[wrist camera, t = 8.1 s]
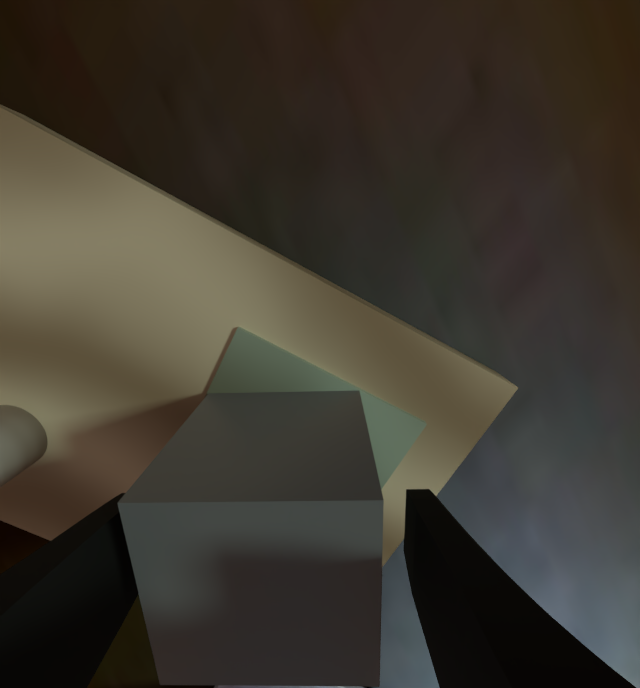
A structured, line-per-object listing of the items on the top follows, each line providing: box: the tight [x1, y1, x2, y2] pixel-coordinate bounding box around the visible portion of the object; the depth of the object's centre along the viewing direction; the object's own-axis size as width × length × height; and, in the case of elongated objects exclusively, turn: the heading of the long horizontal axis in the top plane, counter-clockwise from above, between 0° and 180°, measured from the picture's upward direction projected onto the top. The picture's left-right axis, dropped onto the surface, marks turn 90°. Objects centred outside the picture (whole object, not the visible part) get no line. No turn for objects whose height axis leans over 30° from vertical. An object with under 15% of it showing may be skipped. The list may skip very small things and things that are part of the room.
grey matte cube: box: [117, 390, 384, 687], centre depth 9 cm, size 5×5×5 cm
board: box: [0, 105, 518, 567], centre depth 11 cm, size 14×18×6 cm
